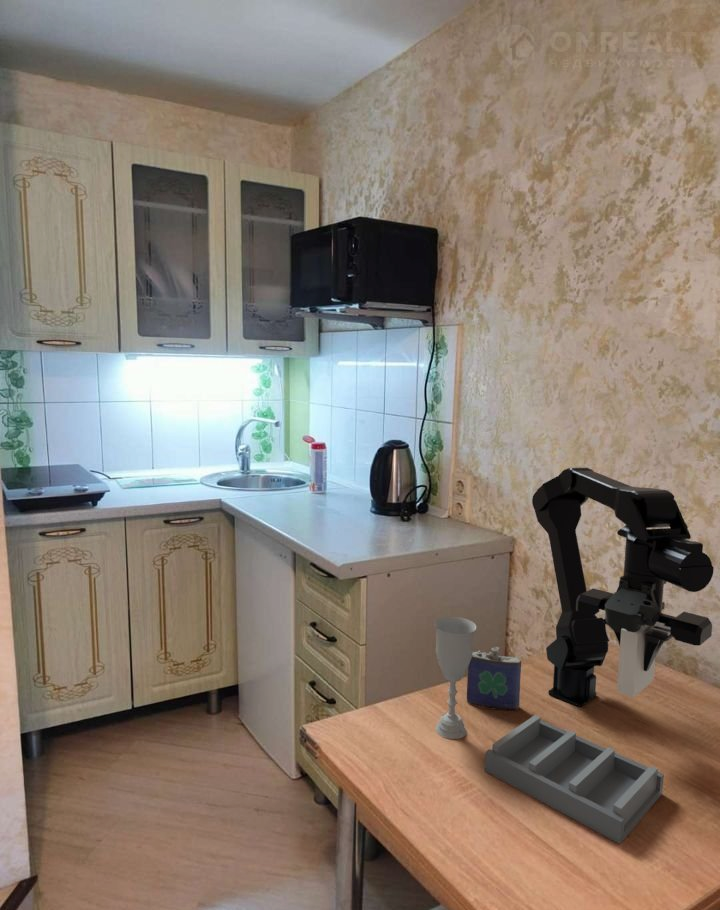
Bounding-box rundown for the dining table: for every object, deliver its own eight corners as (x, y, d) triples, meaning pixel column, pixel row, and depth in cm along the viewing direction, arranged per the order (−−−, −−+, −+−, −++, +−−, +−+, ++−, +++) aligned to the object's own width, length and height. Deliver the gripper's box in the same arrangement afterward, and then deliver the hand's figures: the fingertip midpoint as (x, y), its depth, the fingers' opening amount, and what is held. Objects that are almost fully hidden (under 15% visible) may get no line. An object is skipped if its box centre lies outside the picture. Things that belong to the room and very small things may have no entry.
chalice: (426, 718, 105) (429, 616, 103) (465, 717, 106) (469, 616, 104) (435, 743, 98) (439, 634, 96) (477, 742, 99) (482, 633, 97)
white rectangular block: (616, 691, 96) (621, 629, 95) (637, 675, 101) (642, 616, 100) (633, 697, 94) (637, 633, 93) (653, 680, 100) (658, 620, 99)
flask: (519, 705, 110) (522, 647, 109) (518, 713, 108) (521, 654, 106) (467, 697, 113) (469, 641, 112) (465, 705, 110) (467, 647, 109)
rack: (484, 770, 91) (485, 745, 91) (534, 734, 101) (535, 711, 101) (619, 844, 77) (621, 814, 77) (662, 794, 87) (664, 767, 87)
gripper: (562, 567, 97) (556, 662, 98) (691, 598, 83) (682, 708, 85) (594, 554, 104) (588, 643, 106) (717, 581, 91) (708, 682, 93)
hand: (636, 667), depth 97 cm, fingers closed on white rectangular block, 2 cm apart
